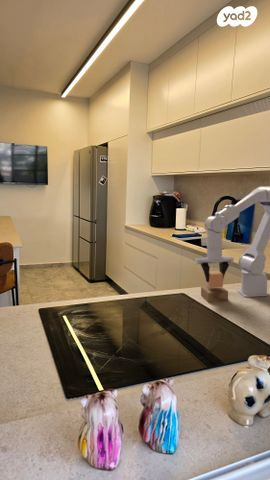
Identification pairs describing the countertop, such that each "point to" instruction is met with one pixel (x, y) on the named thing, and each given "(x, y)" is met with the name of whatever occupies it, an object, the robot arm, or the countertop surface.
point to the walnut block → (214, 294)
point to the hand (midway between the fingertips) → (214, 281)
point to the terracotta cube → (215, 279)
